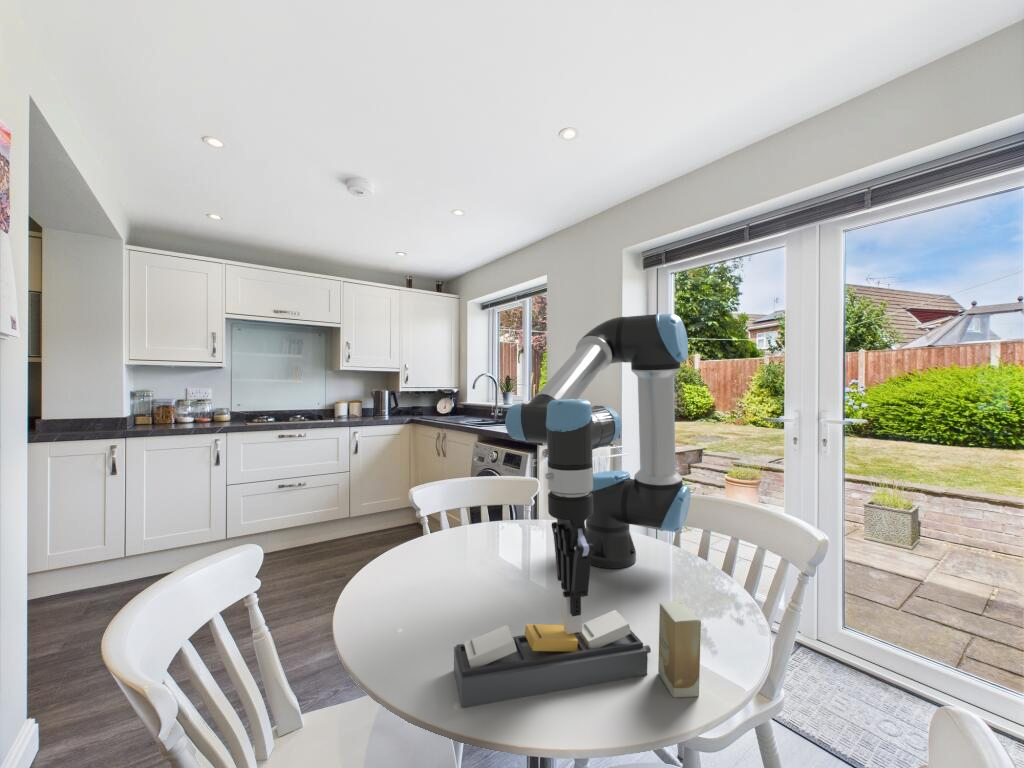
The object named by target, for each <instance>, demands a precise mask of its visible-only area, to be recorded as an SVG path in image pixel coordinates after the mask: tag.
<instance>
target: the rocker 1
mask: <svg viewBox="0 0 1024 768" xmlns="http://www.w3.org/2000/svg"><path fill="white" fill-rule="evenodd" d="M513 637H514V636H513V634H512V632H511V630H510V628H509V625H508V624H505V625H503V626H500V627H498V628H496V629H494V630H491V631H488V632H486V633H483V634H480V635H478V636H476V637H474V638H471V639H469V640H466V641H463V644H464V645H465V649H466V653H467V657H468V661H469V664H470V668H475V667H481V666H483V665H486V664H488V663H490V662H493V661H495V660H497V659H500V658H502V657H504V656H507V655H509V654H511V653H514V652H516V651H517V649H516V645H515V641H514V639H513Z"/></svg>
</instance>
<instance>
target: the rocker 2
mask: <svg viewBox="0 0 1024 768" xmlns="http://www.w3.org/2000/svg"><path fill="white" fill-rule="evenodd" d="M630 630H631V628H630V623H628V621H627V620H626V619H625V618H624V617H623V615H621V614H620V613H619V612H618V610H616V609H614V610H611V611H609V612H606V613H604V614H602V615H600V616H598V617H595V618H592V619H591V620H590V619H589V620H588V621H585V622H584V623H583V622H582V632H579V635H580V637H581V638H582V639H583V641H584V642H585V644H586V645H587V647H588V648H589V649H595V648H600V647H602V646H604V645H607V644H609V643H611V642H613V641H616V640H618V639H620V638H622V637H625V636H627V635H629V634H631V631H632V630H631V631H630Z"/></svg>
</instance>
